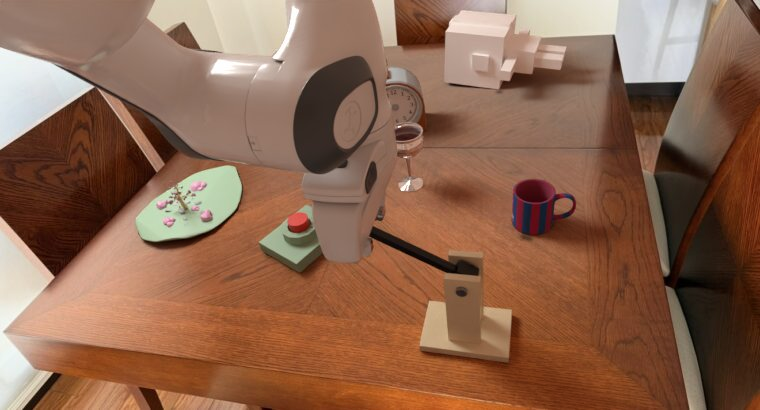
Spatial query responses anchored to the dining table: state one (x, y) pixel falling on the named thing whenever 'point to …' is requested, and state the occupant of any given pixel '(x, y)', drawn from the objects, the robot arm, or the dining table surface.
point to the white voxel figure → (493, 50)
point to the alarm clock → (405, 97)
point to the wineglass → (409, 151)
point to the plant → (191, 206)
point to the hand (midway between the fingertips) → (372, 234)
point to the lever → (423, 254)
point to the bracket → (466, 317)
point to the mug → (536, 206)
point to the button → (298, 222)
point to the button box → (293, 244)
